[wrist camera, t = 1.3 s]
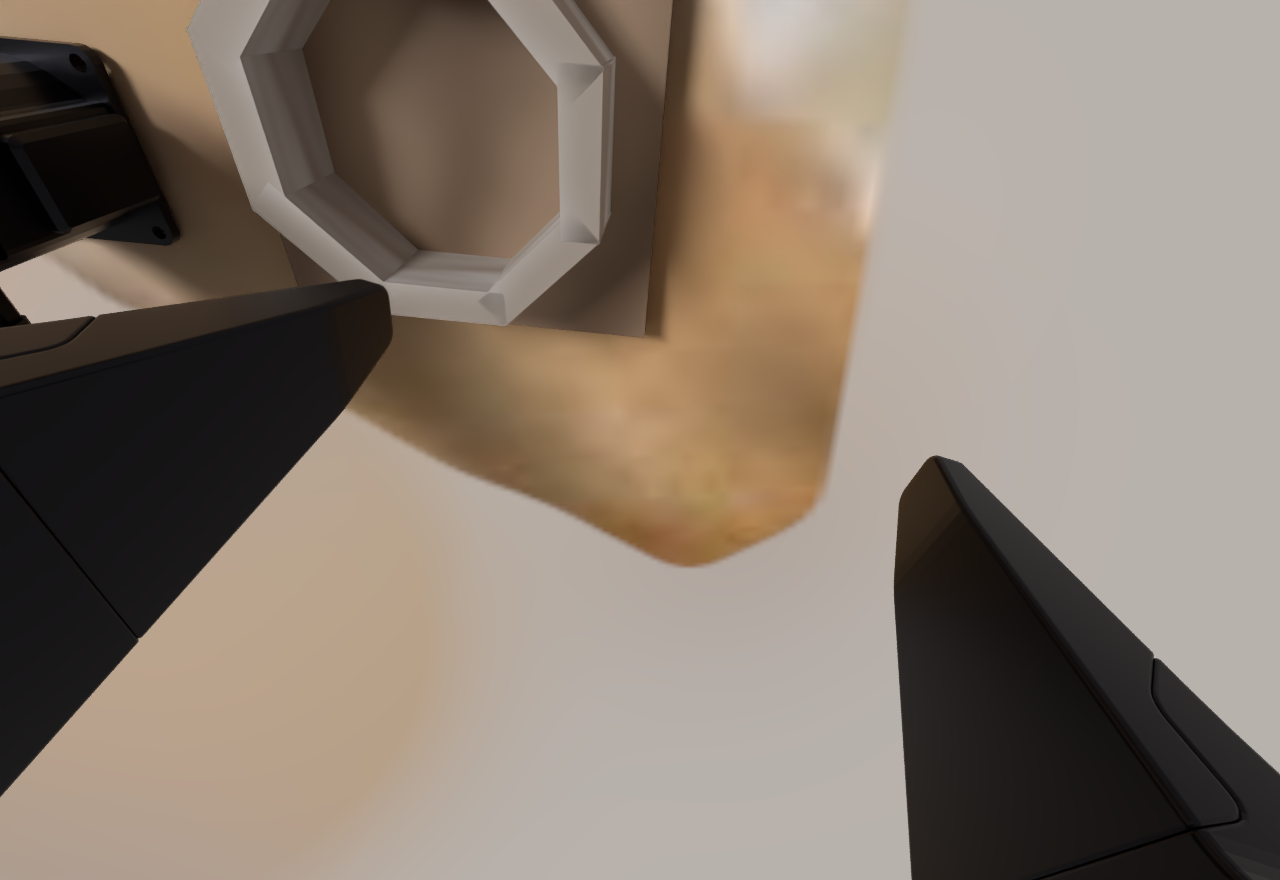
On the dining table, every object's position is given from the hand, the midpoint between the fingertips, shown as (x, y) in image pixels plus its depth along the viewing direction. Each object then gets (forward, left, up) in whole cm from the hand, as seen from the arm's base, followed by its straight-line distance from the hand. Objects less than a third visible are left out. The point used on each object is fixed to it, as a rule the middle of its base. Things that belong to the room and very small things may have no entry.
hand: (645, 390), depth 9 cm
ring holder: (-7, +1, -14) cm, 16 cm away
